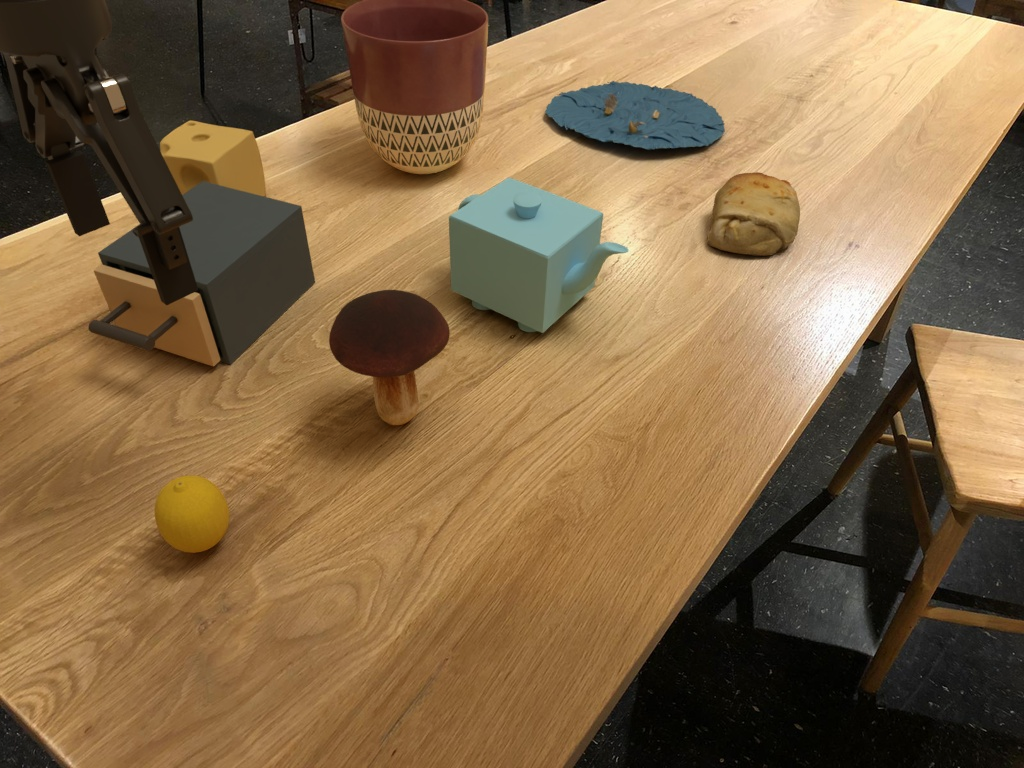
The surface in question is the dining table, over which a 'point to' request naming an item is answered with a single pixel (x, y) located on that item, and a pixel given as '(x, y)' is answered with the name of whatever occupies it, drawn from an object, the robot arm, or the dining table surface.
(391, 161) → the planter
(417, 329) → the decorative mushroom
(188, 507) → the lemon
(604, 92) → the decorative plate
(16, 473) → the dining table surface
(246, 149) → the cheese
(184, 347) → the drawer
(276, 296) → the cabinet
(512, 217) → the teapot
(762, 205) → the pastry
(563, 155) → the dining table surface
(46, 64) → the robot arm
